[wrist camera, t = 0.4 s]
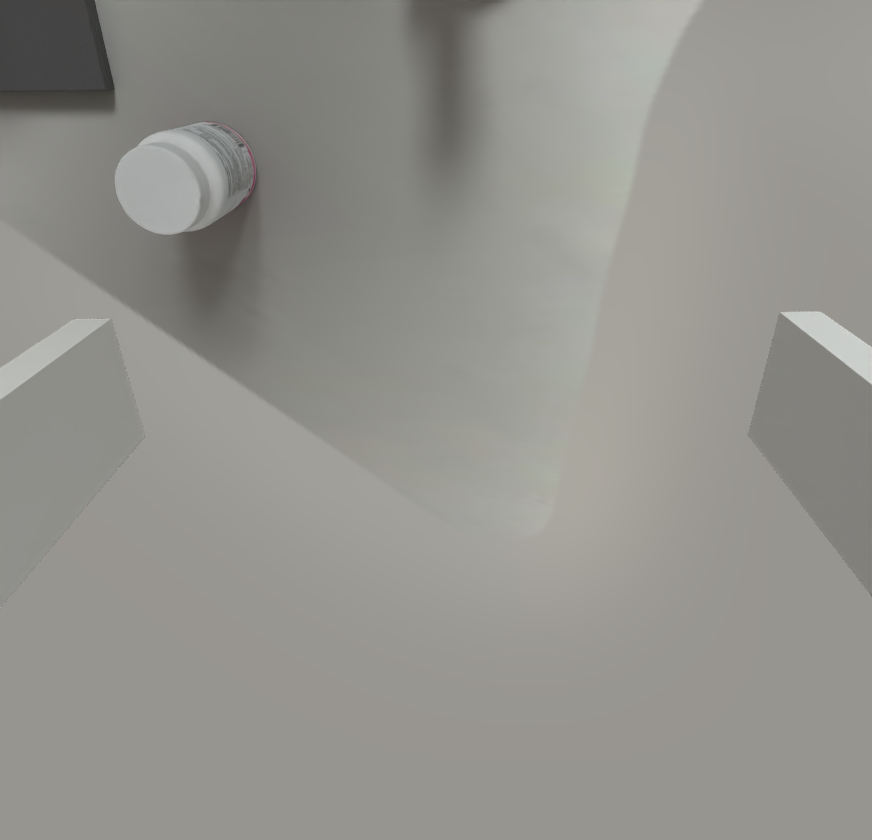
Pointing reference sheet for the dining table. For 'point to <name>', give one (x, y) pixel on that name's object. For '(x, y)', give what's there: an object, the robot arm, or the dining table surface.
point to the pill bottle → (185, 177)
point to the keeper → (52, 46)
